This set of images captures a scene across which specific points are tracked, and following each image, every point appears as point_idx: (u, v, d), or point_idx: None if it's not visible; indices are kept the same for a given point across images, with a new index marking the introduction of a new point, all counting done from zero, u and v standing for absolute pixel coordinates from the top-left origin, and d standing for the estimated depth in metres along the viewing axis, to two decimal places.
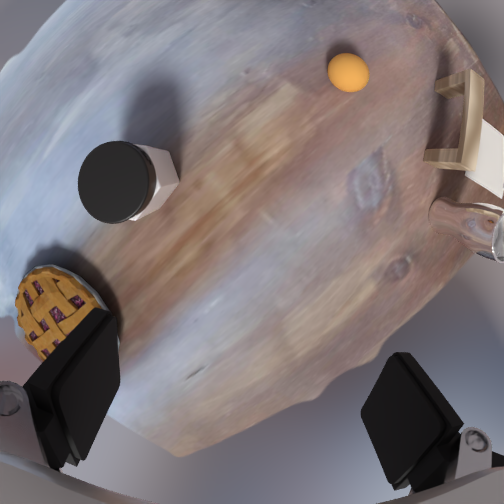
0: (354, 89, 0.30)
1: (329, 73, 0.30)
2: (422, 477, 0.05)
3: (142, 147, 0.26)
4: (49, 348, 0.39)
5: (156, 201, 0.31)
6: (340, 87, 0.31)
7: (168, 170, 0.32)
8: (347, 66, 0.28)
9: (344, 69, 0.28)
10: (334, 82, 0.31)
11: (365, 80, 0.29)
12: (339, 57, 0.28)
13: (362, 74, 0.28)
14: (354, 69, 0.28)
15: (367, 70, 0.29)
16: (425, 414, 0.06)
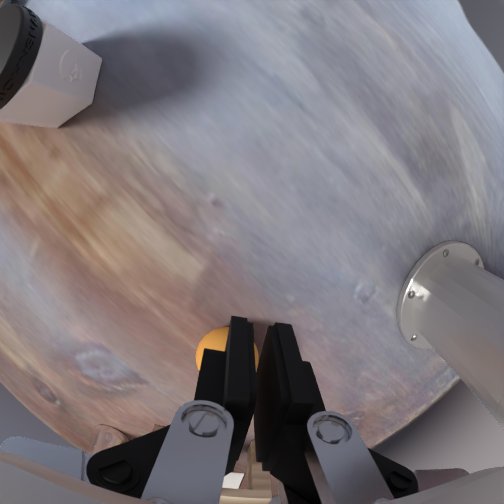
0: None
1: (217, 332, 0.24)
2: (275, 458, 0.06)
3: (29, 76, 0.11)
4: None
5: None
6: (198, 347, 0.24)
7: (45, 114, 0.17)
8: None
9: None
10: (203, 339, 0.24)
11: None
12: None
13: None
14: None
15: None
16: (276, 385, 0.07)
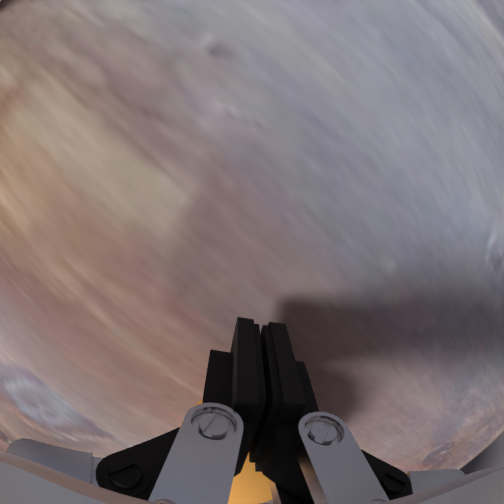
0: None
1: None
2: (267, 459, 0.06)
3: None
4: None
5: None
6: None
7: None
8: None
9: None
10: None
11: None
12: (267, 489, 0.08)
13: None
14: None
15: None
16: (268, 385, 0.07)
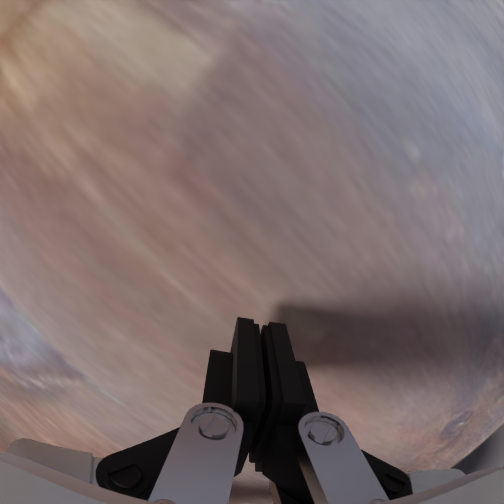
0: None
1: None
2: (267, 459, 0.06)
3: None
4: None
5: None
6: None
7: None
8: None
9: None
10: None
11: None
12: None
13: None
14: None
15: None
16: (268, 385, 0.07)
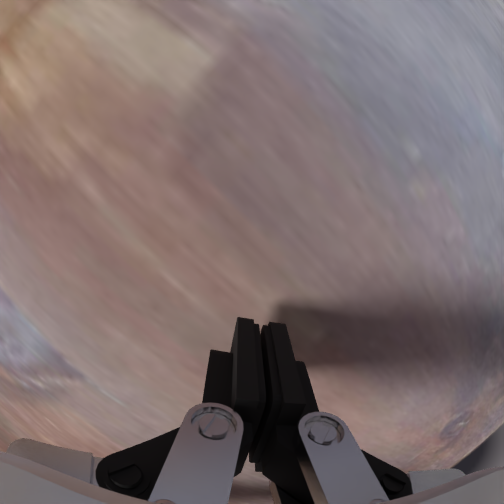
0: None
1: None
2: (267, 459, 0.06)
3: None
4: None
5: None
6: None
7: None
8: None
9: None
10: None
11: None
12: None
13: None
14: None
15: None
16: (268, 385, 0.07)
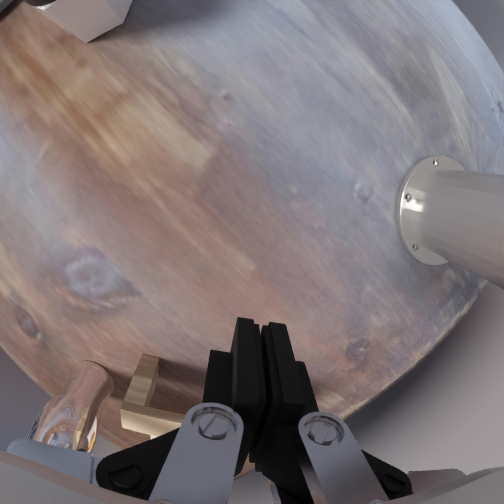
0: None
1: None
2: (267, 459, 0.06)
3: None
4: None
5: (49, 17, 0.14)
6: None
7: (85, 21, 0.16)
8: None
9: None
10: None
11: None
12: None
13: None
14: None
15: None
16: (268, 385, 0.07)
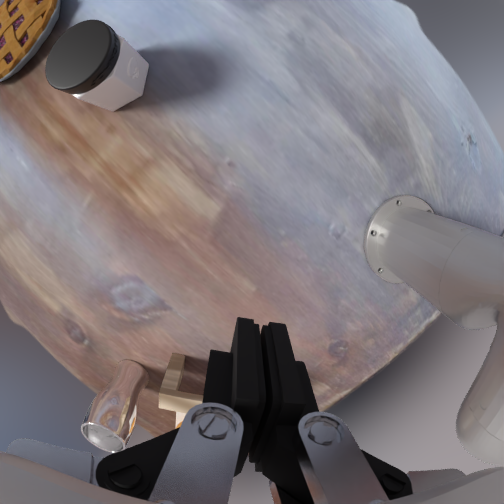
0: None
1: None
2: (267, 459, 0.06)
3: (112, 72, 0.22)
4: None
5: None
6: None
7: (111, 99, 0.27)
8: None
9: None
10: (178, 424, 0.44)
11: None
12: None
13: None
14: None
15: None
16: (268, 385, 0.07)
